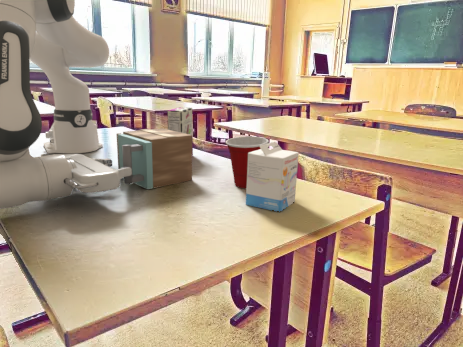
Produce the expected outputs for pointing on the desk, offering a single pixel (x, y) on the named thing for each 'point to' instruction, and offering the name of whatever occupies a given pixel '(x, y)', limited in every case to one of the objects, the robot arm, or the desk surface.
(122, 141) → the flap
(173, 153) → the carton
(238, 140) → the plastic cup
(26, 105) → the robot arm
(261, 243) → the desk surface
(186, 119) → the candy bar box
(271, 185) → the ink box
